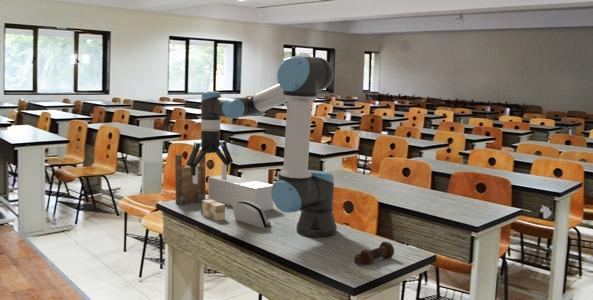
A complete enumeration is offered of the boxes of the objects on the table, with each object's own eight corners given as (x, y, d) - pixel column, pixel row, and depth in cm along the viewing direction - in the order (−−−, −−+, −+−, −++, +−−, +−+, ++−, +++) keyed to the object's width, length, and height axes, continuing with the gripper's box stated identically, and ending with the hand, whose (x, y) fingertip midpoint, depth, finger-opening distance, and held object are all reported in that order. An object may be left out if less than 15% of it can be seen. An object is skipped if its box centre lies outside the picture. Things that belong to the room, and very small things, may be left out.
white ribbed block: (208, 199, 252) (208, 177, 250) (226, 196, 260) (226, 174, 258) (254, 213, 230) (255, 188, 229) (272, 209, 238) (273, 185, 236)
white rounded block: (271, 225, 211) (265, 203, 208) (263, 232, 209) (256, 209, 205) (244, 216, 223) (238, 195, 219) (235, 222, 220) (229, 201, 216)
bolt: (355, 271, 171) (386, 259, 180) (365, 267, 167) (396, 256, 177) (348, 253, 172) (379, 243, 182) (358, 249, 168) (390, 239, 178)
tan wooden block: (224, 219, 219) (225, 204, 218) (216, 220, 216) (216, 206, 216) (209, 212, 228) (209, 198, 227) (201, 214, 226) (201, 200, 225)
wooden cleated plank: (207, 200, 248) (207, 153, 245) (179, 205, 240) (179, 155, 236) (203, 199, 251) (203, 152, 248) (175, 203, 242) (175, 154, 239)
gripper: (231, 127, 230) (230, 176, 233) (178, 130, 214) (177, 183, 217) (241, 129, 224) (240, 180, 227) (187, 132, 208) (187, 186, 211)
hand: (209, 181), depth 222 cm, fingers open, 13 cm apart
